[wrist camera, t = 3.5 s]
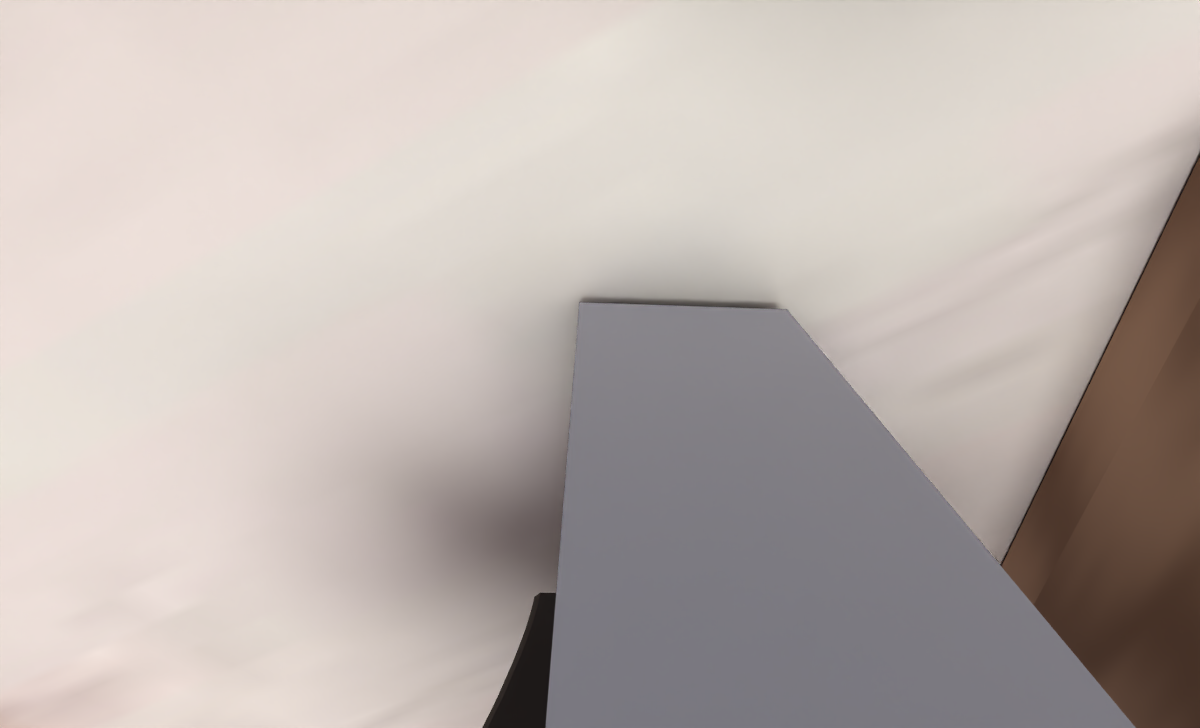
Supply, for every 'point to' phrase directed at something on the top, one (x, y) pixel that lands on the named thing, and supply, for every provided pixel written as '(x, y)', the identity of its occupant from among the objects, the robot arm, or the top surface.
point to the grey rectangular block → (773, 551)
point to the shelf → (1131, 499)
